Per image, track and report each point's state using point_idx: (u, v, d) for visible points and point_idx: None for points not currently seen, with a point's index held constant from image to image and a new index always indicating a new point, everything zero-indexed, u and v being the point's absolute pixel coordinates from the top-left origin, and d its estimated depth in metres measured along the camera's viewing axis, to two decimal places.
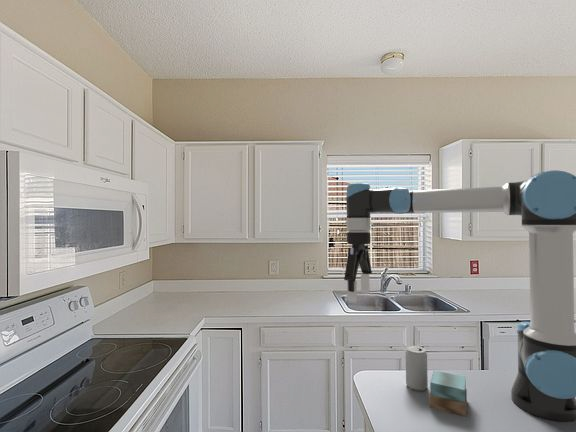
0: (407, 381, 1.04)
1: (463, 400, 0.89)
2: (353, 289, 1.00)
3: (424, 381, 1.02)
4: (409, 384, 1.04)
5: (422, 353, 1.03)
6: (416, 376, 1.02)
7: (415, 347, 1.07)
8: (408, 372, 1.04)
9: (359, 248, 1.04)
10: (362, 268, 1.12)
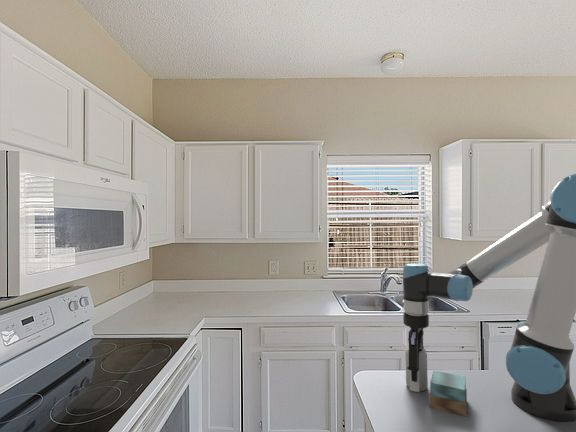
0: (407, 381, 1.04)
1: (463, 400, 0.89)
2: (416, 379, 1.01)
3: (424, 381, 1.02)
4: (409, 384, 1.04)
5: (422, 353, 1.03)
6: None
7: None
8: (408, 372, 1.04)
9: (418, 332, 1.02)
10: None
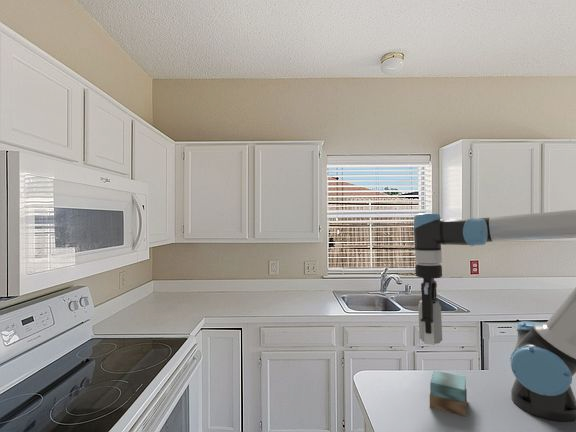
0: (421, 335, 1.00)
1: (463, 400, 0.89)
2: (430, 331, 0.96)
3: (438, 334, 0.98)
4: (423, 338, 0.99)
5: (436, 304, 0.98)
6: None
7: None
8: (421, 325, 1.00)
9: (431, 282, 0.98)
10: None
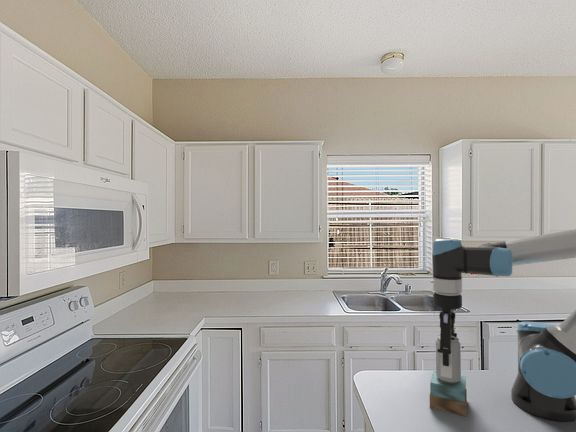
0: (438, 373, 0.95)
1: (463, 400, 0.89)
2: (448, 363, 0.88)
3: (457, 373, 0.92)
4: (440, 376, 0.94)
5: (455, 342, 0.93)
6: None
7: None
8: (439, 363, 0.94)
9: (451, 313, 0.93)
10: None
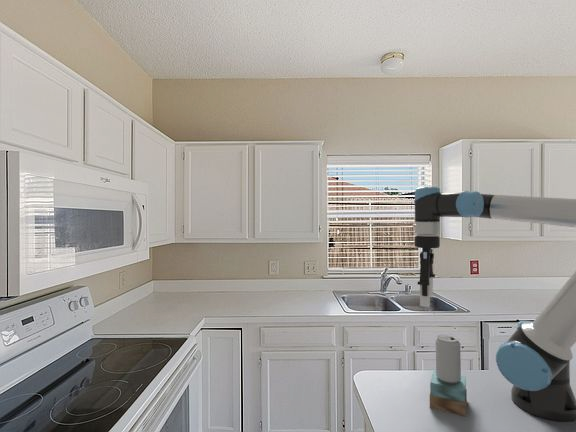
0: (438, 373, 0.95)
1: (463, 400, 0.89)
2: (427, 294, 0.99)
3: (457, 373, 0.92)
4: (440, 376, 0.94)
5: (455, 342, 0.93)
6: (449, 367, 0.92)
7: (446, 336, 0.97)
8: (439, 363, 0.94)
9: (429, 252, 1.04)
10: None
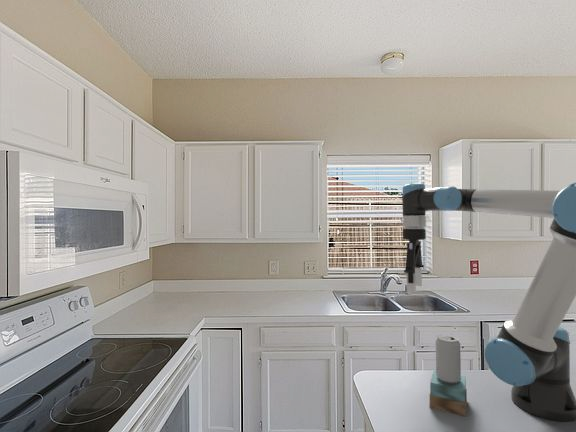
0: (438, 373, 0.95)
1: (463, 400, 0.89)
2: (412, 281, 1.09)
3: (457, 373, 0.92)
4: (440, 376, 0.94)
5: (455, 342, 0.93)
6: (449, 367, 0.92)
7: (446, 336, 0.97)
8: (439, 363, 0.94)
9: (416, 243, 1.13)
10: None
